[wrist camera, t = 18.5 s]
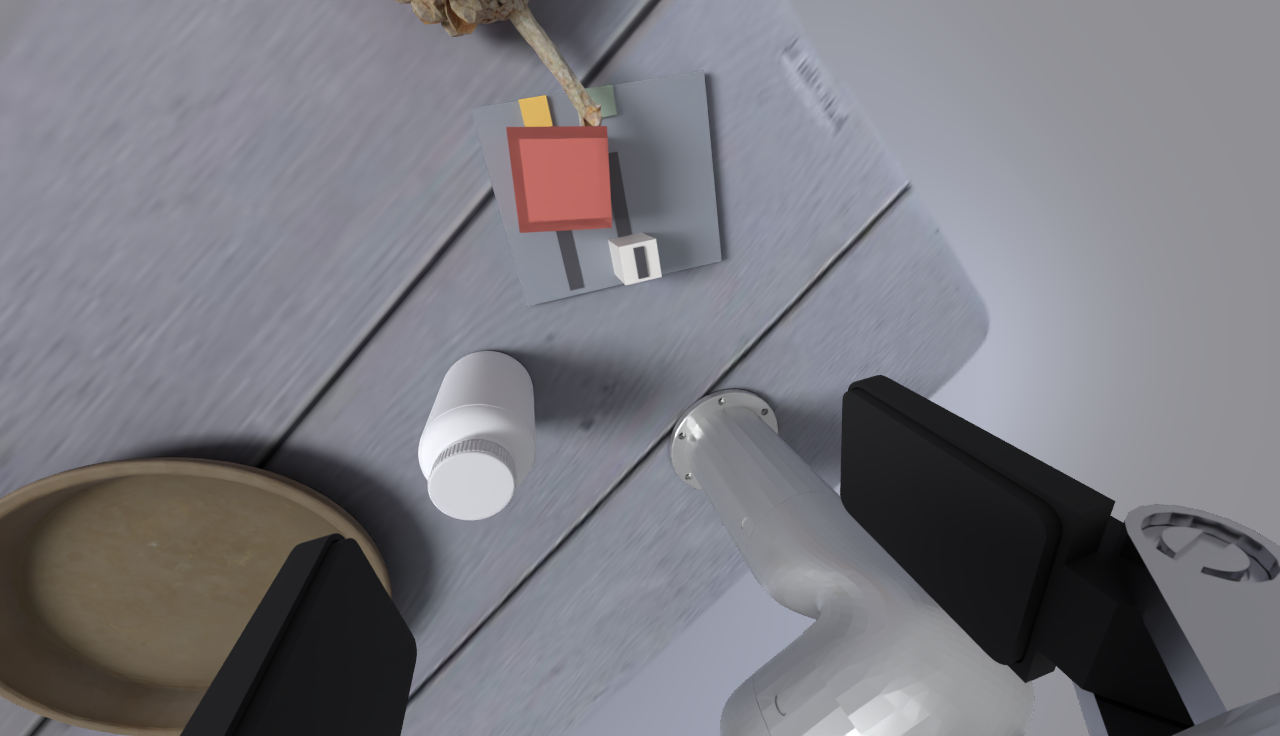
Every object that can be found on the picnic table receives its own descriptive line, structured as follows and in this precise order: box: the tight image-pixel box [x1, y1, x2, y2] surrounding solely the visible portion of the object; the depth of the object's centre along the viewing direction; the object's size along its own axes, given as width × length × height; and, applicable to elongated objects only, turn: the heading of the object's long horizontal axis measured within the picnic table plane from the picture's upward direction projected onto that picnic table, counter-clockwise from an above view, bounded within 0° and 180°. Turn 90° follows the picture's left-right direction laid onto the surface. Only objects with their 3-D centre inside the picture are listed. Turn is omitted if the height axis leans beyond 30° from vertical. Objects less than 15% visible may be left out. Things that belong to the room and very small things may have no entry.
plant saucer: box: [0, 457, 392, 736], centre depth 41 cm, size 31×31×5 cm
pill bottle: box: [418, 351, 536, 520], centre depth 35 cm, size 8×8×15 cm
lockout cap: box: [506, 126, 612, 233], centre depth 33 cm, size 6×6×6 cm
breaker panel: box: [470, 70, 722, 306], centre depth 35 cm, size 15×18×6 cm
